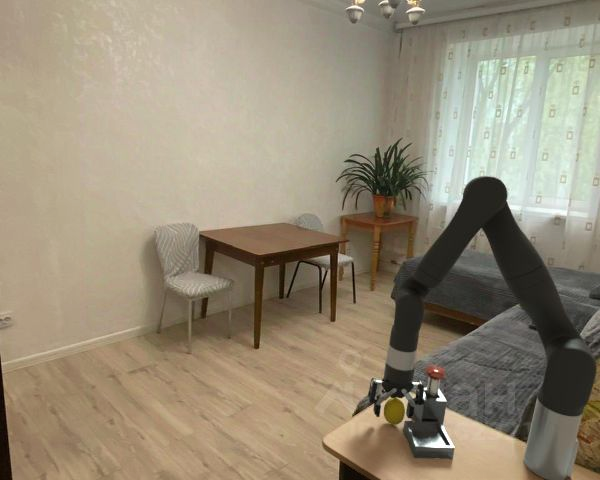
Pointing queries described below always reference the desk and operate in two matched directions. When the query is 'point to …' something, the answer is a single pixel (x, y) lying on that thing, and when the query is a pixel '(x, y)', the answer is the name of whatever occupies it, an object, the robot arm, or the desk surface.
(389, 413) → the lemon
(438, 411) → the press column
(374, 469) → the desk surface
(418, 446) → the square metal tray
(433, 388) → the plunger
